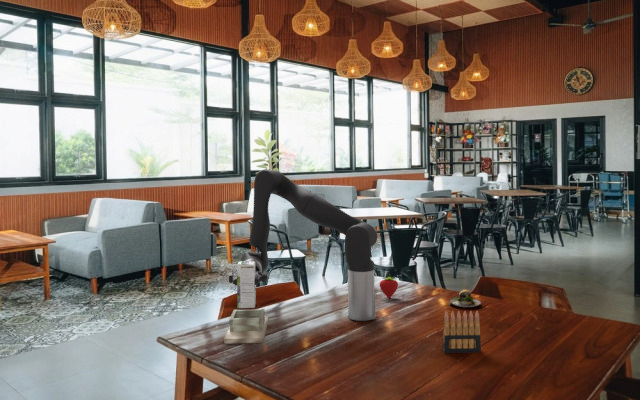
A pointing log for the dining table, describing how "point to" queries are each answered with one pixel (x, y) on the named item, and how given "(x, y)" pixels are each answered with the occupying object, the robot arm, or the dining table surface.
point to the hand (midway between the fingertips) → (245, 282)
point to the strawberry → (388, 286)
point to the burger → (465, 300)
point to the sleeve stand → (247, 326)
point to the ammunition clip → (461, 334)
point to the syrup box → (246, 284)
